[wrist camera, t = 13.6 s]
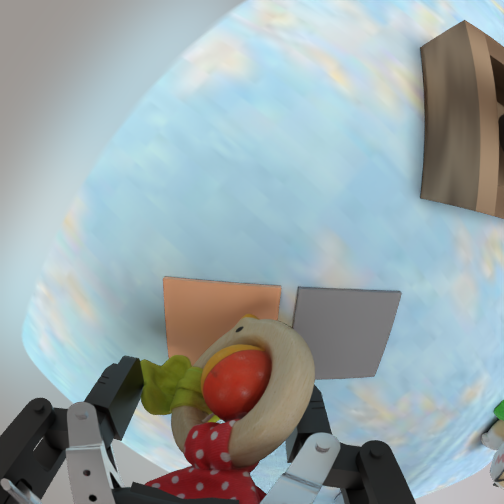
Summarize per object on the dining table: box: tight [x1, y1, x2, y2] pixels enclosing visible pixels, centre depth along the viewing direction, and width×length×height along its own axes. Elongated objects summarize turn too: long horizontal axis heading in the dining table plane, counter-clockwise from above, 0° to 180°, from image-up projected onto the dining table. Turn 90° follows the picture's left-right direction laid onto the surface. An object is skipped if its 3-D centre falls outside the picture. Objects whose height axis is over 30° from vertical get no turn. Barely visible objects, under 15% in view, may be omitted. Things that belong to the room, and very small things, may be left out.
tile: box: [163, 277, 281, 366], centre depth 16 cm, size 6×6×1 cm
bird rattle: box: [140, 314, 315, 504], centre depth 10 cm, size 6×11×9 cm
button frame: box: [420, 20, 504, 219], centre depth 10 cm, size 10×10×5 cm
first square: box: [292, 287, 402, 379], centre depth 16 cm, size 6×6×1 cm
